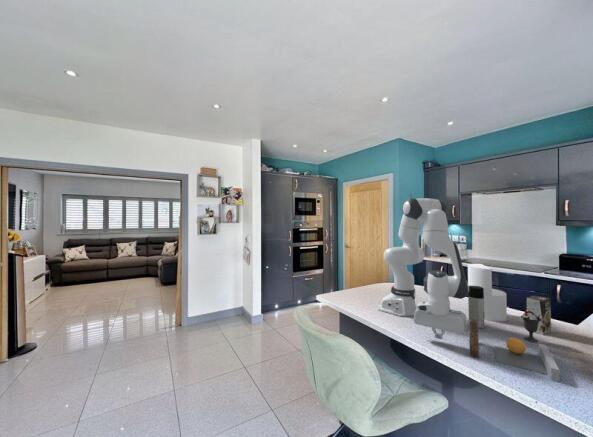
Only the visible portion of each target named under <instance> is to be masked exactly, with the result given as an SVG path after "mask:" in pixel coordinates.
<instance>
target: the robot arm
mask: <svg viewBox="0 0 593 437" xmlns="http://www.w3.org/2000/svg"><path fill="white" fill-rule="evenodd" d="M402 212H403V213H402V217H401V220H400V225H399V227H398V228H399V229H398V233H397V236H398V238H399V240H400V241H402V245H401V246H393V247H389V248H387V249H385V250H384V252H383V261H384V262H385V264H387V265H388V266H389V267H390V269H391V271H392V274H393V283H394V284H393V285H392V286H391V287H390V293H388V294H386V295H385V296H383V298H382V299H381V303H379V304H378V305H377V310H378V311H381V312H384V313H386V314H387V313H388V314H391V315H393V316H394V315H395V316H398V317H413V322H414V324H415V325H417V326H418V325H419V326H423V327H426V328H427V327H428V328H431V330H432V332H433V333H434V338H435V339H440V340H443V338H444V335H445V334H446V332H449V333H454V334H455V333H456V334H461V335H465V333H467V332H466V322H467V315H466V314H465V313H464V312H463V311H461V310H455V309H451V307H450V306H451V304H450V303H451V302H450V299H449V297H450V298H452V299H453V298H454V299H458V300H459V299H461V300H462V299H464V298H465V297H466V298H467V296H468V294H469V286H468V280H467V278H466V275H465V270H464V267H463V263H462V258H461V254H460V250H459V247H458V245H457V243H456V242H455V241H452V239H451V238H450V234H449V224H448V218H447V215H446V214H447V204H446V202H444V201H443V200H441V199H437V198H429V197H427V198H426V197H423V198H419V197H418V198H415V197H413V198H407V199H406V200H405V201H404V202H403V204H402ZM421 229H422V237H423V242H424V244H425V245H426V246H427V247H428V248H430V249H432V250H435V251H438V252H440V253H443V254H445V255H447V257H449V259H450V261H451V266H452V271H453V274H454V275H448V274H447V273H446V272H445V271H443V270H436V269H435V270H431V271H429V272H428V274H427V275H426V276H425V277H424V278H423V291H424V292H425V293H426V294H427V298H426V300H423V301H419V302H418V303H417V304H416V289H415V276H414V274H413V273H412V272H410V271H409V270H408V265H409V266H411V265H417V264H419V263H422V262H423V261H424V259H425V253H424V250H423V249H422V248H421V247H420V244H419V239H420V238H419V237H420V233H421ZM437 329H438V330H441V333H438V332H437V331H436V330H437Z"/></svg>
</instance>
